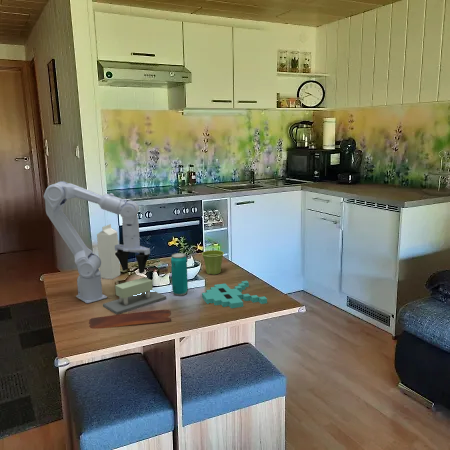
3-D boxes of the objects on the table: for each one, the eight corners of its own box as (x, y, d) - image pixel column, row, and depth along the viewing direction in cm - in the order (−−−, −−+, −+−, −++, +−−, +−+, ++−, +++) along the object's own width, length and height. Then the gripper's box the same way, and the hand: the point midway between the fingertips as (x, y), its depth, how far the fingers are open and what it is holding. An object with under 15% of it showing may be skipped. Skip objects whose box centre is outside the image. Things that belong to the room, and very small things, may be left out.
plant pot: (208, 277, 187) (208, 257, 185) (198, 271, 195) (198, 252, 194) (228, 273, 192) (228, 254, 190) (217, 268, 200) (217, 249, 198)
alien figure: (246, 286, 178) (197, 292, 172) (246, 280, 177) (197, 287, 171) (267, 304, 159) (212, 312, 153) (267, 298, 159) (212, 306, 153)
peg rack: (102, 306, 159) (102, 295, 158) (151, 292, 172) (150, 282, 171) (117, 314, 152) (116, 303, 151) (166, 299, 165) (165, 288, 164)
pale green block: (144, 286, 167) (144, 277, 166) (152, 289, 163) (152, 280, 162) (115, 294, 159) (115, 285, 158) (123, 298, 155) (122, 288, 154)
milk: (100, 278, 189) (95, 226, 185) (108, 273, 195) (104, 223, 190) (112, 279, 187) (108, 227, 182) (120, 274, 193) (116, 224, 188)
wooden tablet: (170, 311, 155) (170, 307, 155) (172, 323, 145) (172, 319, 145) (89, 318, 150) (89, 314, 150) (86, 331, 141) (86, 326, 140)
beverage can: (183, 289, 174) (182, 252, 171) (190, 294, 169) (189, 255, 166) (169, 292, 171) (168, 254, 168) (176, 297, 166) (175, 258, 163)
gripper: (107, 235, 162) (110, 271, 165) (140, 239, 156) (142, 277, 158) (121, 231, 168) (123, 266, 171) (152, 235, 162) (154, 271, 165)
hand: (133, 271), depth 165 cm, fingers open, 7 cm apart
